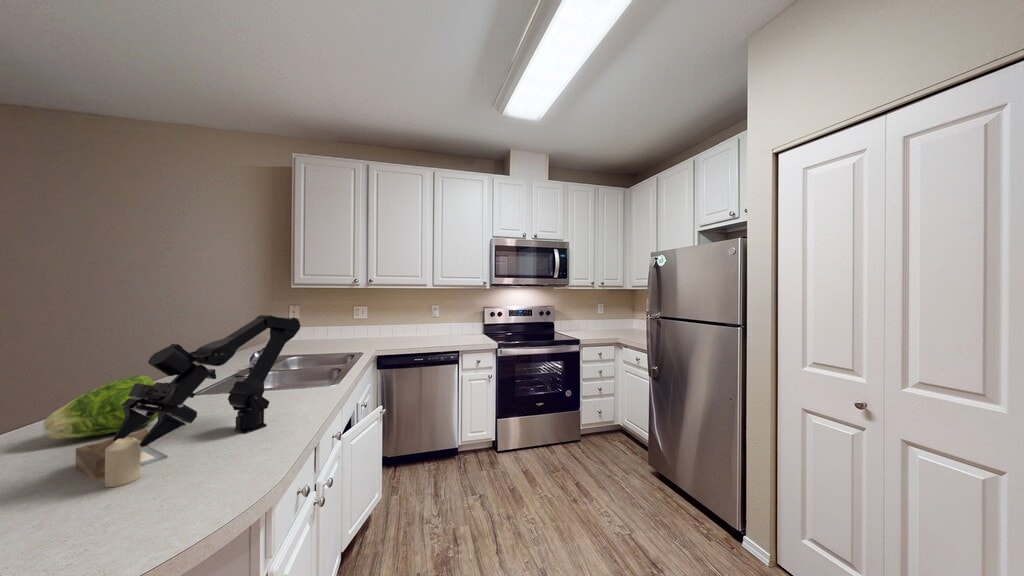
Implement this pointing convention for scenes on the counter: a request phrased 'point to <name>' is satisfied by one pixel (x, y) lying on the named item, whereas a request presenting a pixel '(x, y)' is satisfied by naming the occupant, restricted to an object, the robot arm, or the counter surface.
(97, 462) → the frame
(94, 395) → the lettuce
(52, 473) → the counter surface
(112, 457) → the candle
